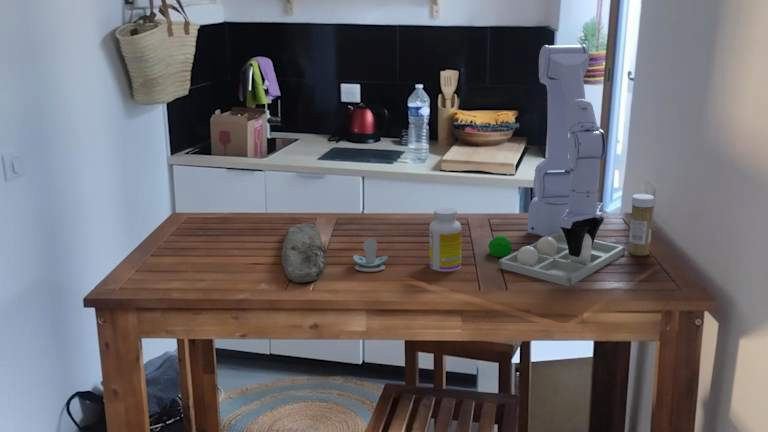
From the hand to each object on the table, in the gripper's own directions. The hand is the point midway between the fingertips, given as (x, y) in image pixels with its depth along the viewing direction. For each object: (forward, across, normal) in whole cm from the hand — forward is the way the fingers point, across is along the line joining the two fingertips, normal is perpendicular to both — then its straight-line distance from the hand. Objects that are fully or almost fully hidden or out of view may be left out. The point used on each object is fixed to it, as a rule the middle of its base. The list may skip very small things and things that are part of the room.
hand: (580, 252), depth 164 cm
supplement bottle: (+4, -18, +21) cm, 28 cm away
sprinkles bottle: (+4, +15, -6) cm, 17 cm away
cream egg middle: (+3, 0, +8) cm, 8 cm away
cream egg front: (+3, -8, +8) cm, 11 cm away
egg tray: (+3, 0, +4) cm, 5 cm away
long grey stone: (+4, -31, +51) cm, 60 cm away
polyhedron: (+4, -5, +16) cm, 18 cm away
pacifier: (+4, -27, +34) cm, 44 cm away
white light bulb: (+2, 0, 0) cm, 2 cm away
